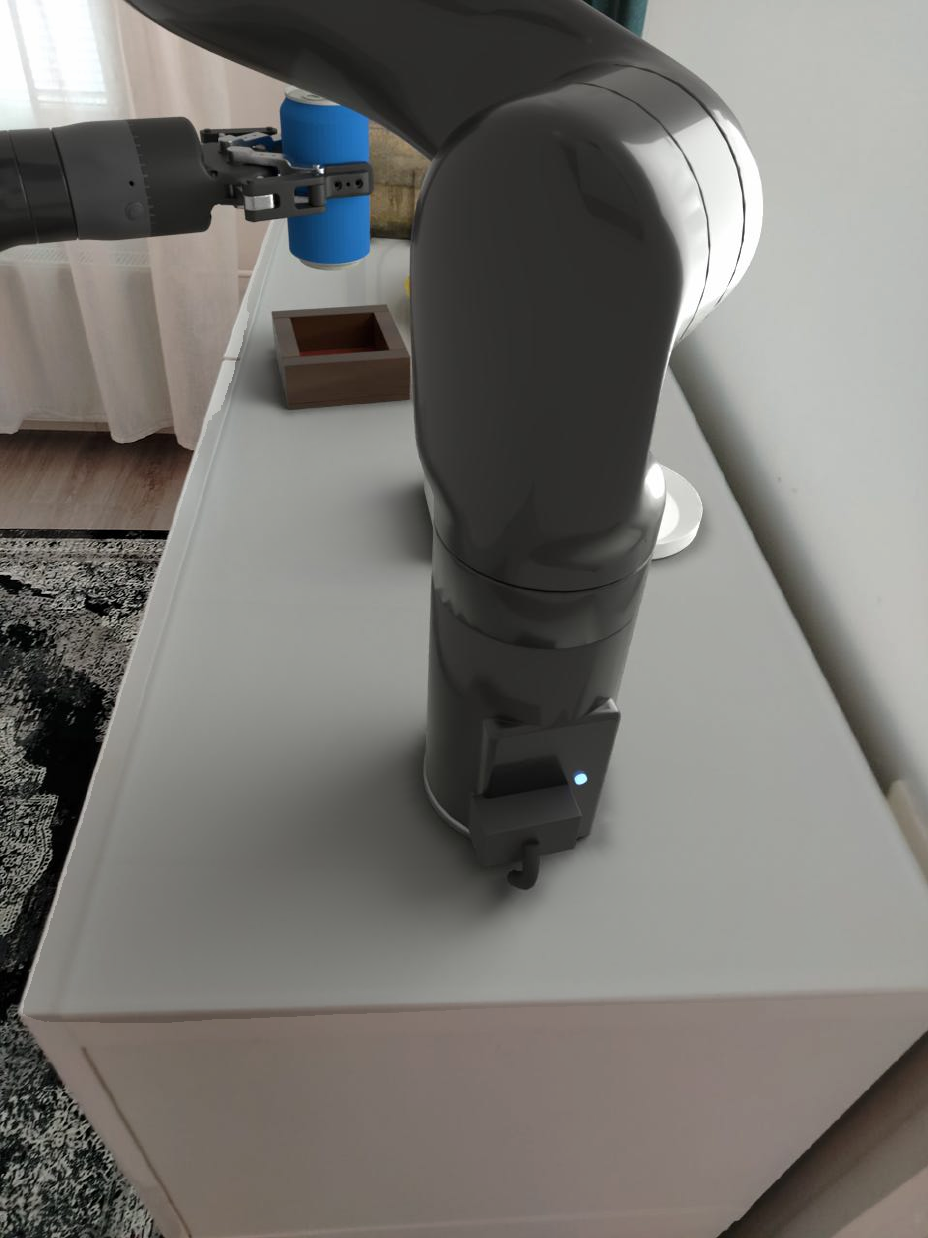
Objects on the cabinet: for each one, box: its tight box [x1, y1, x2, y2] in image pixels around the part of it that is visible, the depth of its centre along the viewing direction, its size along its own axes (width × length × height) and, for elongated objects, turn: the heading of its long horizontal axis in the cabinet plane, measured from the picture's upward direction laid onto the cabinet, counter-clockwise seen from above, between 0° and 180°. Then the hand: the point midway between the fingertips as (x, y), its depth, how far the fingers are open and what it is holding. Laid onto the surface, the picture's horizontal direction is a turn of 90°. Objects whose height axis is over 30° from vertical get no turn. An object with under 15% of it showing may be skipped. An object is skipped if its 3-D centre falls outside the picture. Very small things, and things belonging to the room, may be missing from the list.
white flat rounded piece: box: [423, 463, 703, 560], centre depth 66 cm, size 12×3×20 cm
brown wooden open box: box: [271, 303, 411, 410], centre depth 79 cm, size 10×10×4 cm
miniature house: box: [369, 119, 431, 241], centre depth 106 cm, size 15×14×11 cm
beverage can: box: [279, 85, 371, 272], centre depth 69 cm, size 6×6×12 cm
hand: (355, 163), depth 69 cm, fingers closed on beverage can, 6 cm apart
